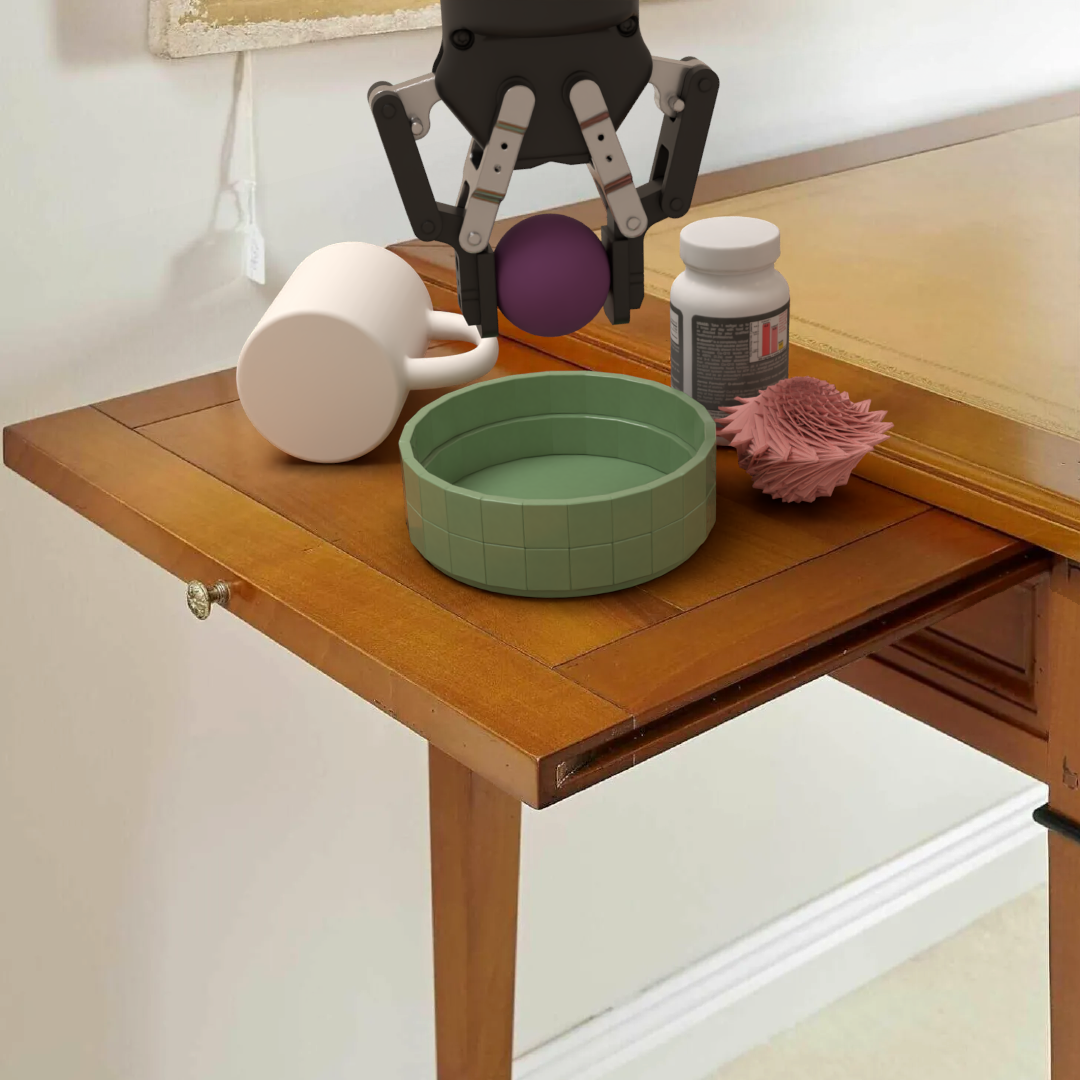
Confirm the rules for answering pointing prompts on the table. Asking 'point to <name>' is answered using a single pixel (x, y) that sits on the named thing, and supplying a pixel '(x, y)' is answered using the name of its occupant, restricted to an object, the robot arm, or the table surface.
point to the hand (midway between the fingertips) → (552, 323)
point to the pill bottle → (728, 313)
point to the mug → (349, 353)
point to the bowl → (559, 482)
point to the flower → (801, 437)
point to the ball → (551, 275)
